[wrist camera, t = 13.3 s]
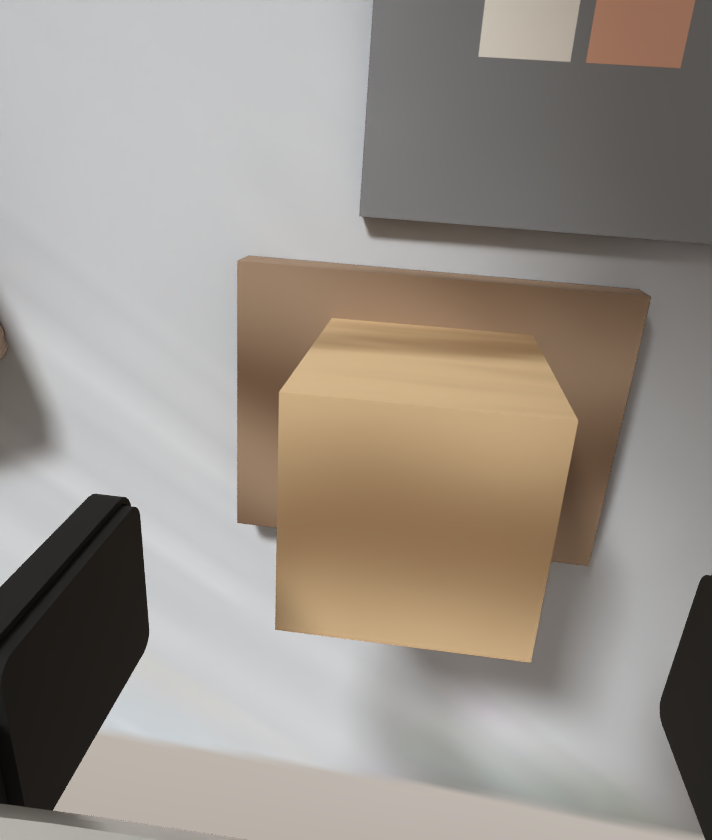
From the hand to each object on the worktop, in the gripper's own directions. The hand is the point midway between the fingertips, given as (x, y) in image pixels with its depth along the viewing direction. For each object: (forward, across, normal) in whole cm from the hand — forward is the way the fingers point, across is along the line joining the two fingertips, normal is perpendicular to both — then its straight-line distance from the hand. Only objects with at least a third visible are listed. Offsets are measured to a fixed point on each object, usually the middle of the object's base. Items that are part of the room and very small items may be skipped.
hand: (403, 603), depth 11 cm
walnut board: (+12, 0, +1) cm, 12 cm away
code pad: (+12, -3, -10) cm, 16 cm away
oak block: (+10, 0, +1) cm, 10 cm away
